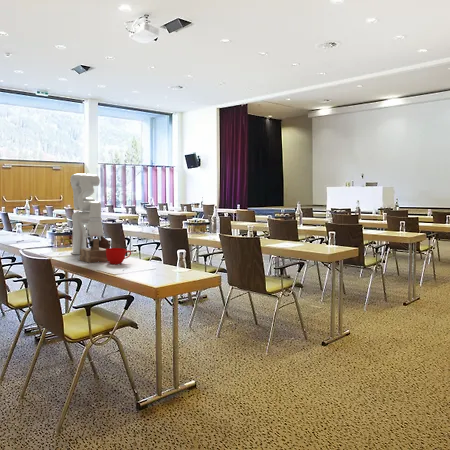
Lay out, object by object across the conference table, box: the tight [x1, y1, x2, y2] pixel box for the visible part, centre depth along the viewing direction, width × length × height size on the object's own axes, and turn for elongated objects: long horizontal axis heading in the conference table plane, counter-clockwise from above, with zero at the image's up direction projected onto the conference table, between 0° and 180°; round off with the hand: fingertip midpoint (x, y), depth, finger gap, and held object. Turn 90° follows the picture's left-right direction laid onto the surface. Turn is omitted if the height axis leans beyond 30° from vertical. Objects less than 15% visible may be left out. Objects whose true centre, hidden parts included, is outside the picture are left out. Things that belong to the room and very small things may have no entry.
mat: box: [78, 259, 109, 264], centre depth 321 cm, size 17×17×1 cm
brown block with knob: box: [79, 238, 108, 264], centre depth 320 cm, size 15×15×15 cm
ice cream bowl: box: [99, 236, 111, 249], centre depth 340 cm, size 11×11×15 cm
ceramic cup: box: [106, 247, 132, 265], centre depth 312 cm, size 13×17×10 cm
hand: (94, 246), depth 320 cm, fingers open, 4 cm apart
